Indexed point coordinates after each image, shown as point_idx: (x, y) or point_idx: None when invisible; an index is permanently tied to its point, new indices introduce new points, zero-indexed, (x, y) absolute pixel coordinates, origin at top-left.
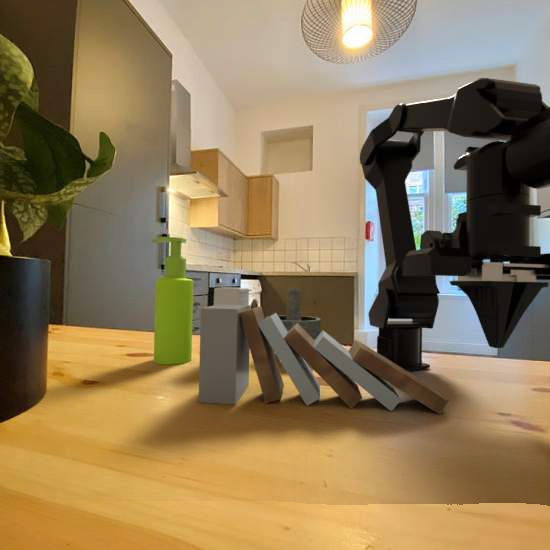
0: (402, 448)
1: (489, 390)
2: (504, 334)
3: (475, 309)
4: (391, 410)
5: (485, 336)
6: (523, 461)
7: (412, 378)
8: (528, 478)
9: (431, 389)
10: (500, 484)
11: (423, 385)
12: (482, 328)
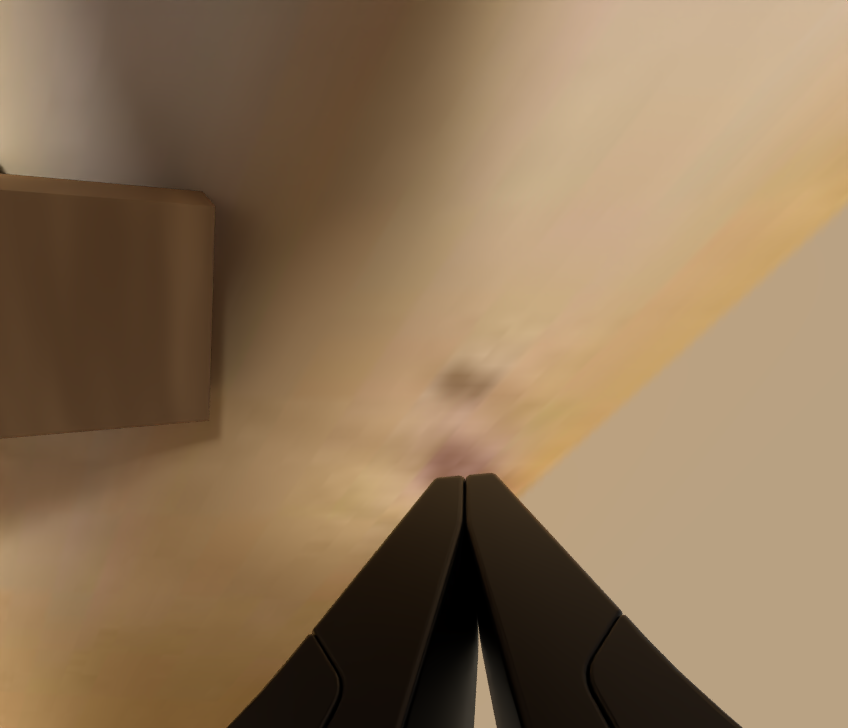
0: (18, 593)
1: (668, 24)
2: (481, 645)
3: (261, 705)
4: None
5: (410, 511)
6: (290, 652)
7: (8, 419)
8: None
9: (139, 380)
10: (185, 711)
11: (77, 420)
12: (379, 551)
